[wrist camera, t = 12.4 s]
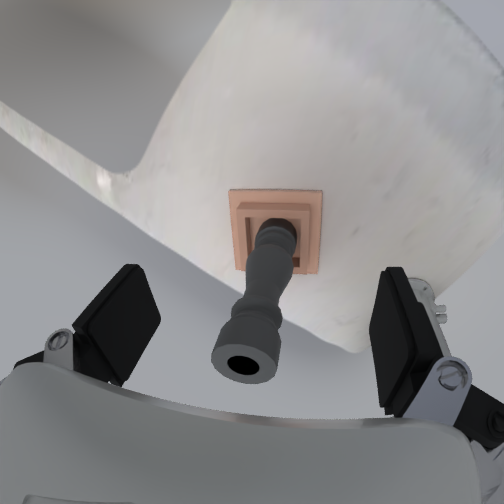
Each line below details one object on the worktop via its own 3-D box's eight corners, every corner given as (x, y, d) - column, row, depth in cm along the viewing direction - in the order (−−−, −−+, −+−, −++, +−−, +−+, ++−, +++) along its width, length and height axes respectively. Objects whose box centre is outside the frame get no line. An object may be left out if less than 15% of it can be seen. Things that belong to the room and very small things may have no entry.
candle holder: (296, 253, 44) (279, 388, 22) (258, 251, 45) (213, 380, 24) (297, 217, 41) (280, 345, 20) (257, 216, 42) (202, 336, 21)
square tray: (321, 190, 39) (323, 199, 36) (317, 270, 46) (317, 284, 42) (230, 189, 42) (222, 197, 38) (237, 266, 48) (231, 279, 45)
